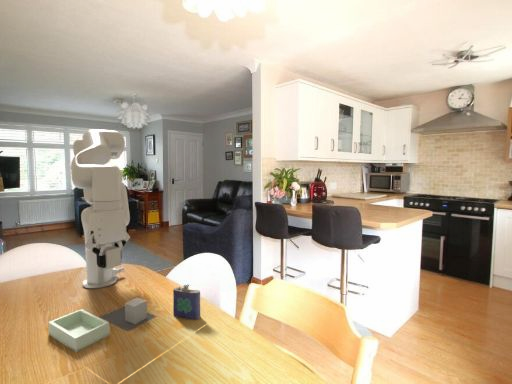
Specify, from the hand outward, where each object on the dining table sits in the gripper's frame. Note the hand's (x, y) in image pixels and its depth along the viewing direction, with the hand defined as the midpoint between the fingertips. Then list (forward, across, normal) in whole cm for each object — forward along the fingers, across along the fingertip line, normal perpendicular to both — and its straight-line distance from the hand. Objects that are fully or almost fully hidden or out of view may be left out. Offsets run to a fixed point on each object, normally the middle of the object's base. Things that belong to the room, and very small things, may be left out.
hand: (109, 264), depth 90 cm
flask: (+18, -12, +20) cm, 29 cm away
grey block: (+17, -3, +7) cm, 19 cm away
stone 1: (0, 0, 0) cm, 0 cm away
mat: (+17, -3, +4) cm, 18 cm away
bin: (+17, +10, +1) cm, 20 cm away
